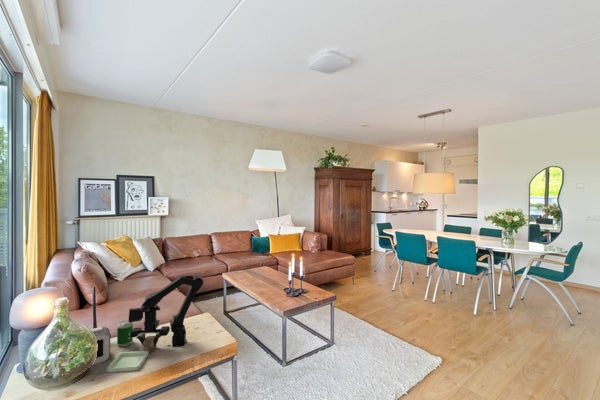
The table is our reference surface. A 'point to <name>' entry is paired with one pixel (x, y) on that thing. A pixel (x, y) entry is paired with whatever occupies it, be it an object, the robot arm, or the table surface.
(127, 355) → the tray
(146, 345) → the walnut block
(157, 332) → the robot arm
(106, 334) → the alarm clock
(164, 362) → the table surface
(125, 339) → the soda can
